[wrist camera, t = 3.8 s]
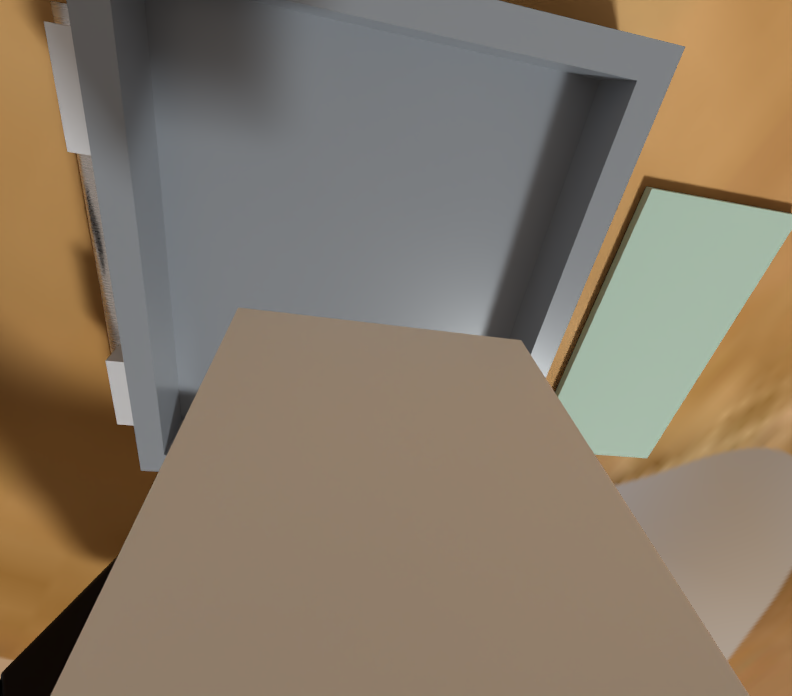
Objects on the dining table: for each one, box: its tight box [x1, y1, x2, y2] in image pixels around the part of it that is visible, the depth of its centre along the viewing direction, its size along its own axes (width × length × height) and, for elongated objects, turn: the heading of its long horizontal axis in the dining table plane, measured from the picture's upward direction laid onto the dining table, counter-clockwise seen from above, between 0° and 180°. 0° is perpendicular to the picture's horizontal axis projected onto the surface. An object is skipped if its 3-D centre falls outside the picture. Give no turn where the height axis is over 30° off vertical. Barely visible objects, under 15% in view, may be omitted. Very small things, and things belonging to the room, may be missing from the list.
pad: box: [555, 186, 792, 458], centre depth 22 cm, size 14×7×1 cm, turn 170°
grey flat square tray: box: [44, 0, 685, 472], centre depth 17 cm, size 18×17×3 cm
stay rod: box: [50, 1, 121, 354], centre depth 17 cm, size 14×1×1 cm, turn 170°
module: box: [50, 307, 749, 696], centre depth 7 cm, size 6×5×6 cm
